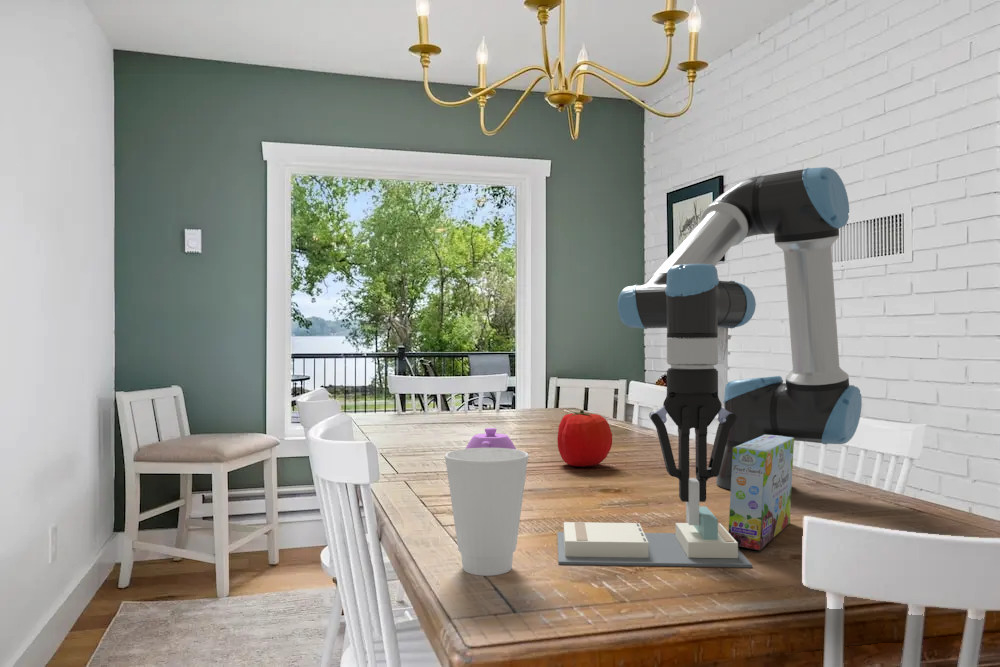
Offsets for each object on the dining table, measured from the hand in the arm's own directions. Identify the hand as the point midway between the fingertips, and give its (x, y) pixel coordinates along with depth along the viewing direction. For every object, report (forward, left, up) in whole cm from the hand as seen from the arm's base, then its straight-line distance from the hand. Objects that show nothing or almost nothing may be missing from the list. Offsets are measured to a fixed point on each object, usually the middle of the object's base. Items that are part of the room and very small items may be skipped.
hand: (692, 522), depth 113 cm
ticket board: (+7, 0, -4) cm, 8 cm away
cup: (+30, +10, -4) cm, 32 cm away
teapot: (+35, -61, -4) cm, 71 cm away
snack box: (-13, -9, -4) cm, 16 cm away
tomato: (+13, -70, -4) cm, 71 cm away
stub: (-2, 0, -4) cm, 4 cm away
